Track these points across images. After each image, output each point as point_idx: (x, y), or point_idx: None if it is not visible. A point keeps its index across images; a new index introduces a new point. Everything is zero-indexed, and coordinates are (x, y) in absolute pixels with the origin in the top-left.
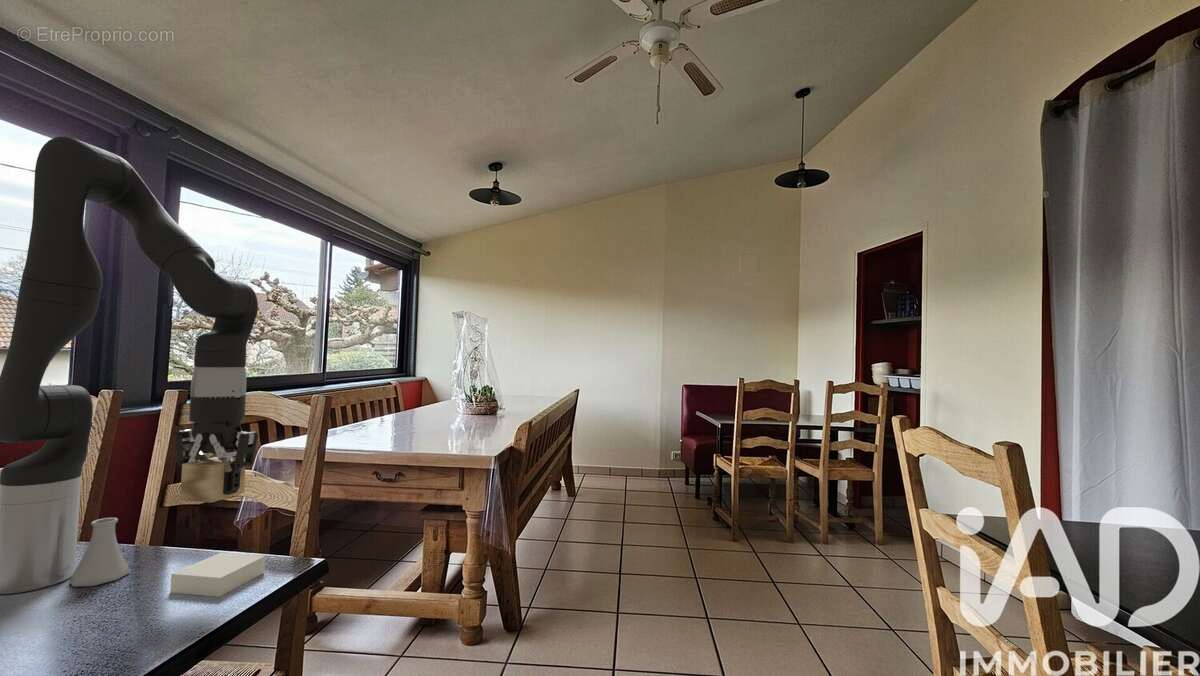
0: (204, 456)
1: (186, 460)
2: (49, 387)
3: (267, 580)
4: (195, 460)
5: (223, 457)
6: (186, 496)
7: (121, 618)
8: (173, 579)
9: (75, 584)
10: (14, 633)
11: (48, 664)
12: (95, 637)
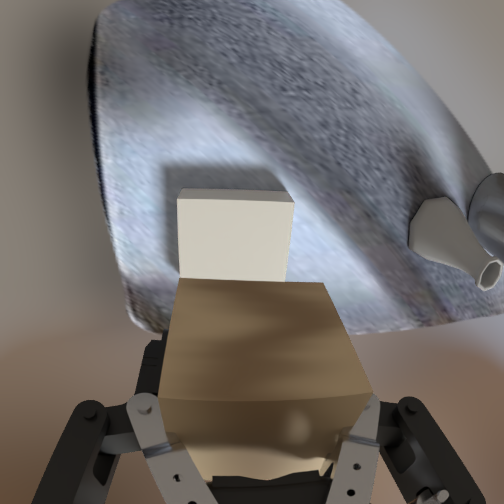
0: (328, 461)
1: (395, 424)
2: None
3: (154, 255)
4: (344, 432)
5: (153, 453)
6: (299, 291)
7: (285, 98)
8: (287, 198)
9: (446, 198)
10: (399, 58)
11: None
12: (267, 42)
